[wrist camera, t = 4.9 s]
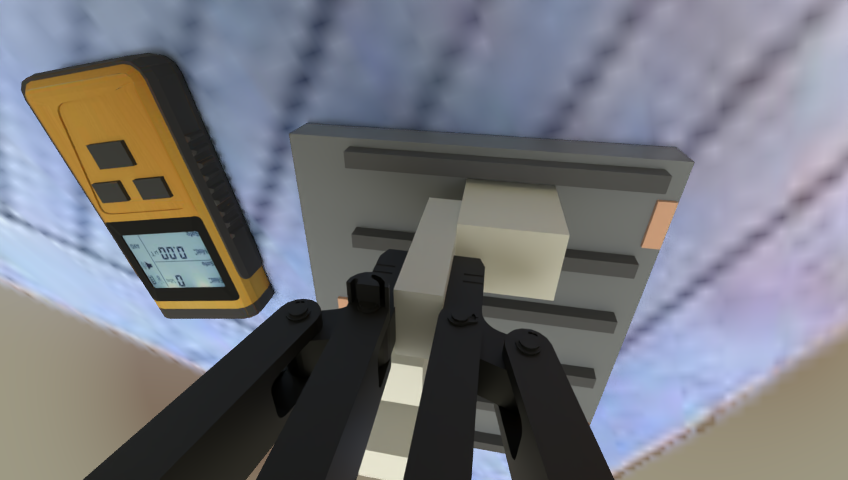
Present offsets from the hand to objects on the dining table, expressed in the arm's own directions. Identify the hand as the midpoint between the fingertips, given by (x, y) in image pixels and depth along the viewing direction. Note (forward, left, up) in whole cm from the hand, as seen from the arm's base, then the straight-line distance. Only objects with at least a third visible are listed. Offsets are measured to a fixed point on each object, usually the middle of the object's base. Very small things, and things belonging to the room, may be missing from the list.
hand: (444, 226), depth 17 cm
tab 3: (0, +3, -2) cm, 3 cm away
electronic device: (+2, -17, -5) cm, 18 cm away
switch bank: (+8, +1, -4) cm, 9 cm away
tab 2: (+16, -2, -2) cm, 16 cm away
